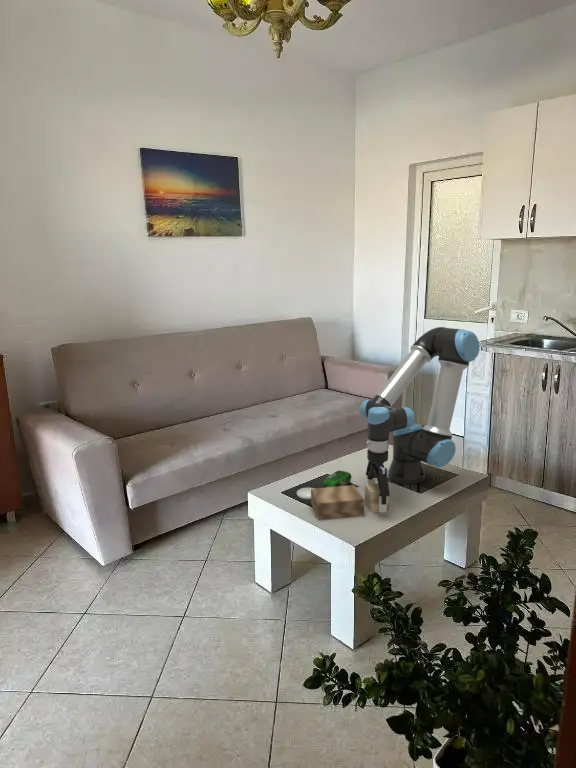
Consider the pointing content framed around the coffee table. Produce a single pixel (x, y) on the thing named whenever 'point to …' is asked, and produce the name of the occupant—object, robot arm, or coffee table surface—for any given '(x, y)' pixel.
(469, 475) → the coffee table surface
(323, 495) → the walnut box
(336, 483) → the green toy car
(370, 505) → the oak block
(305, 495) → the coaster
